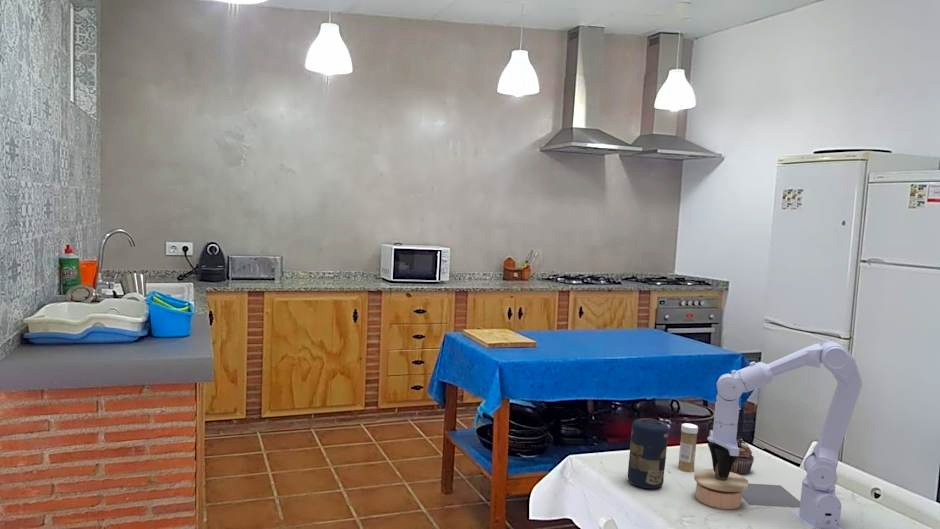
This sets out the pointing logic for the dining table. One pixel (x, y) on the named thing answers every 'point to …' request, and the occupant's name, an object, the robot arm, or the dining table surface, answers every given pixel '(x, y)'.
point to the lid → (721, 480)
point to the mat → (769, 496)
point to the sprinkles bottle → (687, 447)
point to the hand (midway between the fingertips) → (720, 474)
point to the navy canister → (647, 453)
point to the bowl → (718, 497)
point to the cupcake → (743, 459)
